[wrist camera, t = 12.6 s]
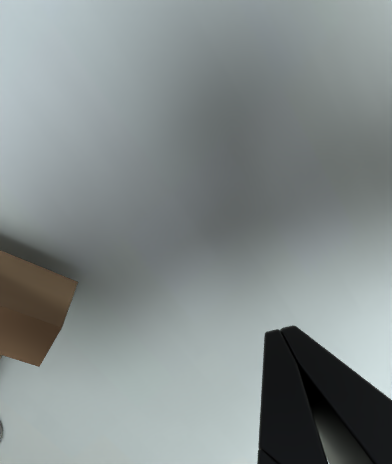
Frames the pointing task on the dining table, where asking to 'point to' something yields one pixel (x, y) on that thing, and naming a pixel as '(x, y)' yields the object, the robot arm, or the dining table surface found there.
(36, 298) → the crank
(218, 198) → the dining table surface
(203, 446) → the dining table surface
